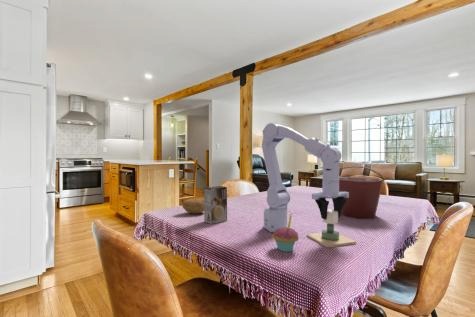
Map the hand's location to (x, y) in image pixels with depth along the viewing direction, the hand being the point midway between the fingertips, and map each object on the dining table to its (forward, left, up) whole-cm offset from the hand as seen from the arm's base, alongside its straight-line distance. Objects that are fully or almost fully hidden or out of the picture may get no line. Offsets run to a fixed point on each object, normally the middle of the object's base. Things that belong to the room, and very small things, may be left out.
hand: (330, 218), depth 91 cm
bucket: (+38, +28, -8) cm, 48 cm away
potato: (-42, +55, -8) cm, 70 cm away
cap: (0, 0, -1) cm, 1 cm away
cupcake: (-20, -3, -8) cm, 22 cm away
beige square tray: (0, 0, -8) cm, 8 cm away
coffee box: (-35, +37, -8) cm, 52 cm away
